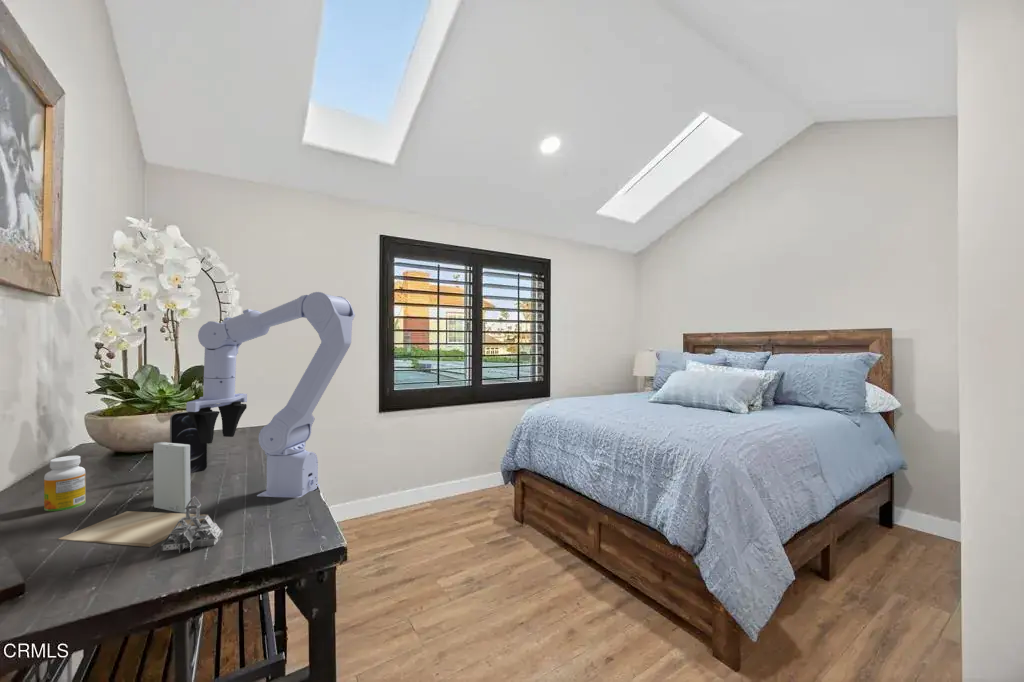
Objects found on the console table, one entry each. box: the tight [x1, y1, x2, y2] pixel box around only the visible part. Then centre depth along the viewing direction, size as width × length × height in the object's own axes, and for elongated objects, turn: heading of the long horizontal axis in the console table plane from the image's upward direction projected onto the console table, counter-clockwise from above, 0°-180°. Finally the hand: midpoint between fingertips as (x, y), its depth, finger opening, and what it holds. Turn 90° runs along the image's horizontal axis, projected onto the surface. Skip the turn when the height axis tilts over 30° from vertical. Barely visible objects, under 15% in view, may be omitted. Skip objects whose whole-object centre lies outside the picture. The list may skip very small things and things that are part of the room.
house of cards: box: [161, 495, 224, 554], centre depth 64 cm, size 9×9×8 cm
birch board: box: [58, 510, 207, 548], centre depth 71 cm, size 16×11×1 cm
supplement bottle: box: [43, 455, 86, 512], centre depth 80 cm, size 5×5×10 cm
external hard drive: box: [152, 441, 192, 514], centre depth 80 cm, size 2×8×12 cm, turn 72°
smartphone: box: [169, 411, 208, 474], centre depth 101 cm, size 8×1×15 cm, turn 148°
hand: (217, 439), depth 92 cm, fingers open, 6 cm apart
